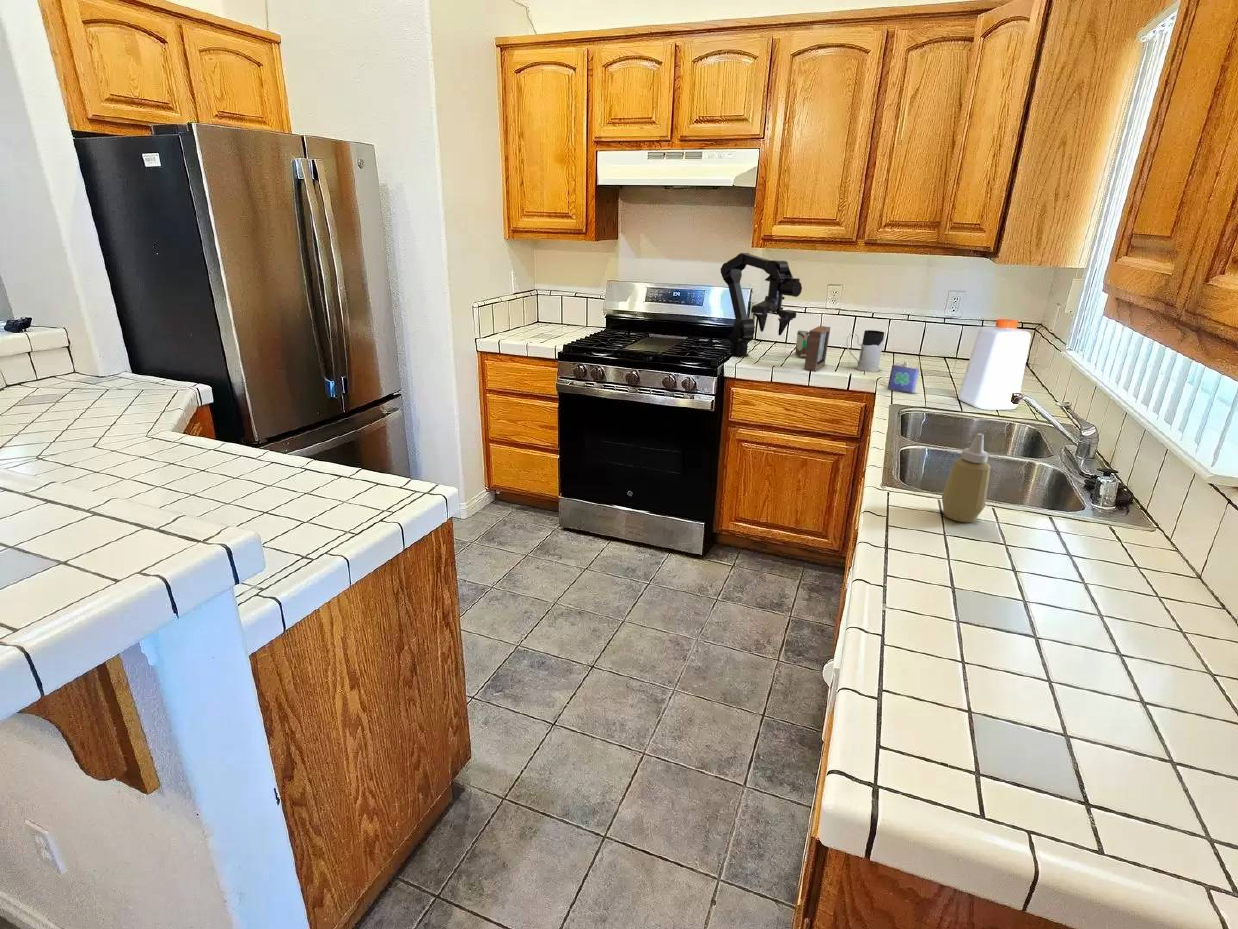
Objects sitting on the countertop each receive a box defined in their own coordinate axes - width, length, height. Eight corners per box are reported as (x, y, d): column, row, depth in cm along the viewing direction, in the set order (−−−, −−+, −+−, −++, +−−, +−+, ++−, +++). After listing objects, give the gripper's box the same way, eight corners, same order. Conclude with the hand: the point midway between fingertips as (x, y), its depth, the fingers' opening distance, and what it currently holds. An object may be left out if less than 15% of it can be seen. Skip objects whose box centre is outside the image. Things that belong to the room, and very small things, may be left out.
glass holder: (880, 372, 257) (887, 334, 251) (843, 369, 260) (849, 331, 254) (877, 367, 265) (884, 330, 259) (841, 364, 268) (847, 328, 262)
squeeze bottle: (933, 517, 133) (953, 434, 126) (942, 505, 139) (962, 425, 132) (976, 529, 128) (999, 444, 122) (984, 516, 134) (1006, 434, 128)
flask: (915, 392, 229) (921, 362, 225) (912, 394, 227) (919, 363, 223) (888, 387, 234) (894, 358, 230) (886, 389, 232) (891, 359, 228)
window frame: (815, 371, 254) (821, 331, 249) (803, 369, 256) (809, 330, 251) (824, 364, 267) (830, 327, 261) (814, 363, 269) (819, 325, 263)
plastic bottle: (991, 398, 226) (1012, 316, 216) (1022, 410, 212) (1046, 324, 202) (951, 398, 223) (971, 316, 213) (980, 411, 210) (1003, 323, 199)
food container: (815, 359, 276) (819, 335, 272) (801, 358, 276) (804, 335, 272) (808, 353, 287) (811, 330, 284) (794, 352, 287) (797, 330, 284)
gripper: (743, 291, 258) (739, 331, 264) (780, 297, 244) (775, 338, 250) (762, 290, 264) (758, 329, 270) (799, 296, 251) (794, 336, 256)
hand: (770, 333), depth 261 cm, fingers open, 9 cm apart
